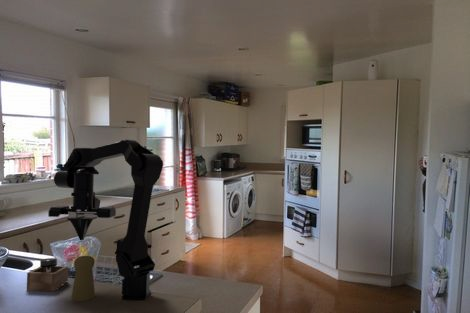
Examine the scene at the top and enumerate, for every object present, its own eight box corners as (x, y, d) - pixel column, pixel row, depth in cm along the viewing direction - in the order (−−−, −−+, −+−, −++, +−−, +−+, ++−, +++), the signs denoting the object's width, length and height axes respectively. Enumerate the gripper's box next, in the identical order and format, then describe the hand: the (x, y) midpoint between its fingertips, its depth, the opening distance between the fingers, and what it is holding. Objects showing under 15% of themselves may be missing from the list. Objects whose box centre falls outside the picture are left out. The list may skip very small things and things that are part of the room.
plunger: (62, 282, 112) (62, 257, 112) (52, 288, 106) (53, 262, 107) (43, 282, 112) (44, 257, 112) (33, 288, 106) (34, 262, 107)
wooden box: (67, 282, 113) (68, 266, 113) (54, 291, 105) (55, 273, 105) (41, 281, 113) (42, 265, 113) (26, 290, 105) (27, 272, 105)
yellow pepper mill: (86, 302, 97) (87, 259, 98) (66, 300, 98) (67, 258, 99) (99, 294, 103) (100, 254, 104) (80, 292, 104) (81, 253, 105)
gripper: (122, 188, 122) (120, 235, 121) (65, 187, 122) (64, 234, 122) (109, 190, 111) (108, 242, 110) (48, 189, 111) (46, 241, 110)
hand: (81, 240), depth 113 cm, fingers closed
